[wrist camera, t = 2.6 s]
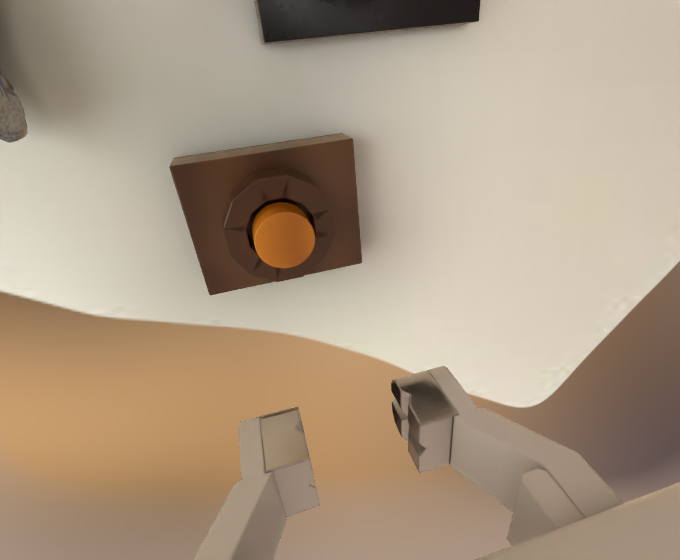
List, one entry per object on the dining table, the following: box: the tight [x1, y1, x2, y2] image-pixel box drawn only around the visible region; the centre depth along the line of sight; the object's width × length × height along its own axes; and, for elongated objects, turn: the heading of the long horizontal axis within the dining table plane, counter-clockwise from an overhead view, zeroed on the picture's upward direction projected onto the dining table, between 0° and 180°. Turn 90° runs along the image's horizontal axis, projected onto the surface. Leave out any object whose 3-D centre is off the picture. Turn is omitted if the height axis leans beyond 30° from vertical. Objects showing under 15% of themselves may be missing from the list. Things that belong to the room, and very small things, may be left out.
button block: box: [170, 133, 362, 295], centre depth 23 cm, size 10×8×4 cm
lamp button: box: [252, 202, 315, 268], centre depth 21 cm, size 3×3×2 cm
